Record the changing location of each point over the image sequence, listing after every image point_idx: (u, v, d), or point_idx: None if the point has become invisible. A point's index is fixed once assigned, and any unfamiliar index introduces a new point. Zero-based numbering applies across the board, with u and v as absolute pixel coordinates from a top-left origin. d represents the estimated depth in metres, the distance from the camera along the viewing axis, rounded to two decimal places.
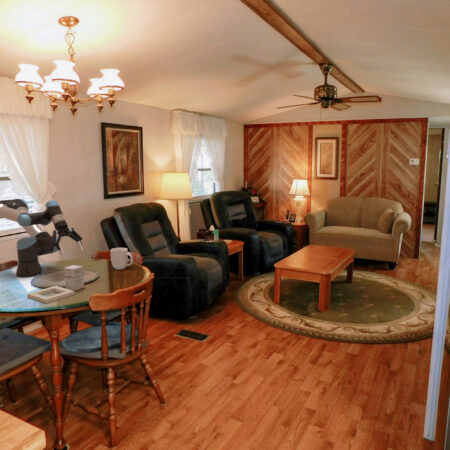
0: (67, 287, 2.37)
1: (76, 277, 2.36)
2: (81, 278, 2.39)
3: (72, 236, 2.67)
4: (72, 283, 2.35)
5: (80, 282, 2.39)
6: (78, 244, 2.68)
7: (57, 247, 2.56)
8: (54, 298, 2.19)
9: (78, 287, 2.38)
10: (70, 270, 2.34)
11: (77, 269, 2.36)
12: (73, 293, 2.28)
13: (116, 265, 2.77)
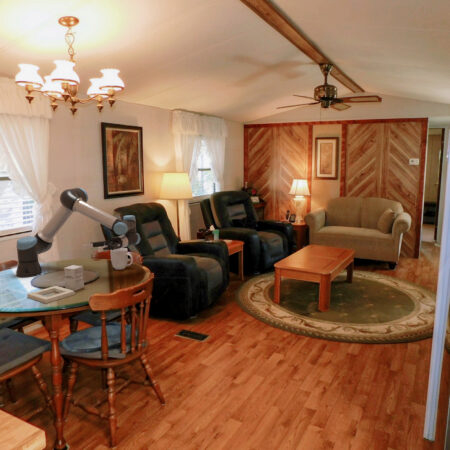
0: (67, 287, 2.37)
1: (76, 277, 2.36)
2: (81, 278, 2.39)
3: (100, 246, 2.58)
4: (72, 283, 2.35)
5: (80, 282, 2.39)
6: (90, 246, 2.54)
7: (106, 249, 2.46)
8: (54, 298, 2.19)
9: (78, 287, 2.38)
10: (70, 270, 2.34)
11: (77, 269, 2.36)
12: (73, 293, 2.28)
13: (116, 265, 2.77)
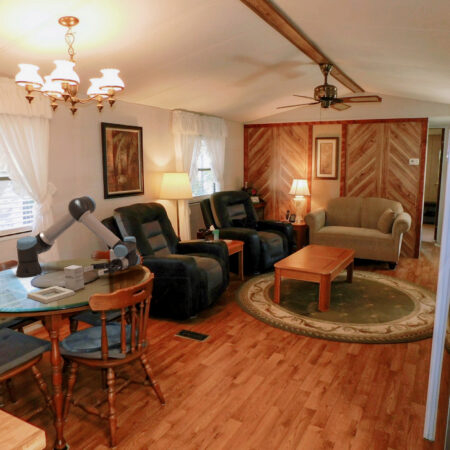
0: (67, 287, 2.37)
1: (76, 277, 2.36)
2: (81, 278, 2.39)
3: (101, 267, 2.59)
4: (72, 283, 2.35)
5: (80, 282, 2.39)
6: (90, 268, 2.56)
7: (107, 272, 2.48)
8: (54, 298, 2.19)
9: (78, 287, 2.38)
10: (70, 270, 2.34)
11: (77, 269, 2.36)
12: (73, 293, 2.28)
13: None
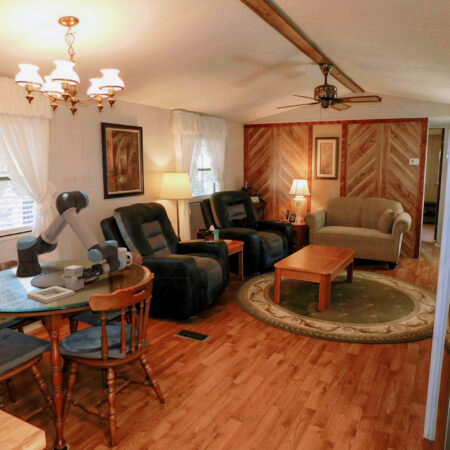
0: (67, 287, 2.37)
1: None
2: None
3: None
4: (72, 283, 2.35)
5: (80, 282, 2.39)
6: None
7: (81, 278, 2.36)
8: (54, 298, 2.19)
9: (78, 287, 2.37)
10: (70, 270, 2.34)
11: (77, 269, 2.36)
12: (73, 293, 2.28)
13: None
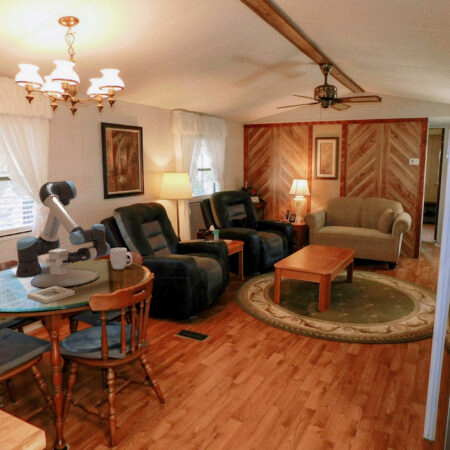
0: (52, 271, 2.27)
1: None
2: None
3: None
4: (57, 267, 2.25)
5: (65, 266, 2.28)
6: None
7: (66, 261, 2.25)
8: (54, 298, 2.19)
9: (63, 271, 2.27)
10: (55, 253, 2.24)
11: (62, 252, 2.25)
12: (73, 293, 2.28)
13: (116, 265, 2.77)
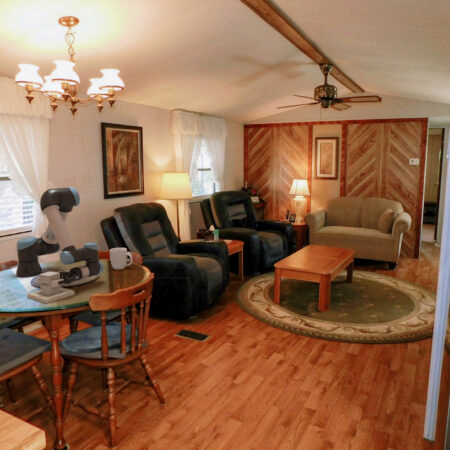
0: (43, 295, 2.24)
1: None
2: (58, 285, 2.26)
3: None
4: (48, 291, 2.22)
5: (57, 290, 2.25)
6: None
7: (62, 282, 2.22)
8: (54, 298, 2.19)
9: None
10: (45, 277, 2.21)
11: (53, 276, 2.23)
12: (73, 293, 2.28)
13: (116, 265, 2.77)
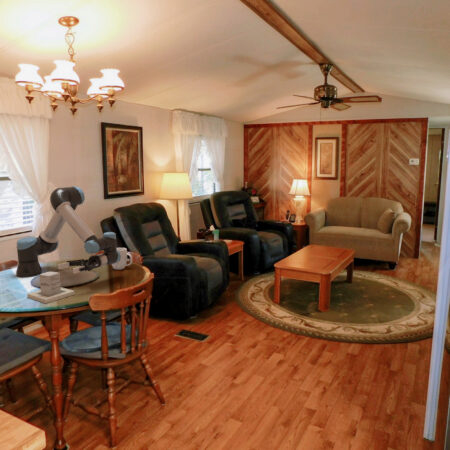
0: (43, 295, 2.24)
1: (52, 284, 2.22)
2: (58, 285, 2.26)
3: (77, 265, 2.43)
4: (48, 291, 2.22)
5: (56, 290, 2.25)
6: (66, 265, 2.40)
7: (83, 269, 2.32)
8: (54, 298, 2.19)
9: None
10: (45, 277, 2.21)
11: (53, 276, 2.23)
12: (73, 293, 2.28)
13: (116, 265, 2.77)
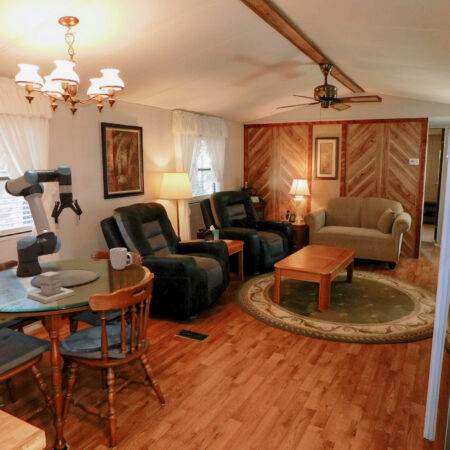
0: (43, 295, 2.24)
1: (52, 284, 2.22)
2: (58, 285, 2.26)
3: (73, 209, 2.57)
4: (48, 291, 2.22)
5: (56, 290, 2.25)
6: (76, 218, 2.60)
7: (55, 220, 2.48)
8: (54, 298, 2.19)
9: None
10: (45, 277, 2.21)
11: (53, 276, 2.23)
12: (73, 293, 2.28)
13: (116, 265, 2.77)
